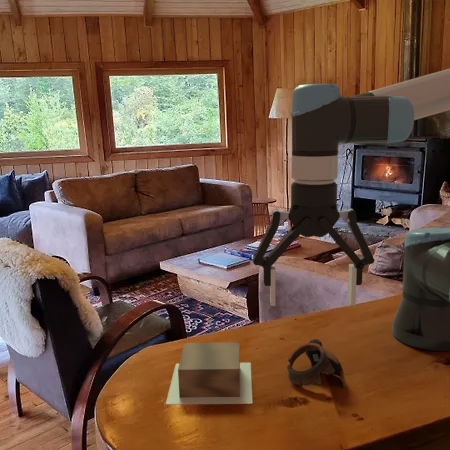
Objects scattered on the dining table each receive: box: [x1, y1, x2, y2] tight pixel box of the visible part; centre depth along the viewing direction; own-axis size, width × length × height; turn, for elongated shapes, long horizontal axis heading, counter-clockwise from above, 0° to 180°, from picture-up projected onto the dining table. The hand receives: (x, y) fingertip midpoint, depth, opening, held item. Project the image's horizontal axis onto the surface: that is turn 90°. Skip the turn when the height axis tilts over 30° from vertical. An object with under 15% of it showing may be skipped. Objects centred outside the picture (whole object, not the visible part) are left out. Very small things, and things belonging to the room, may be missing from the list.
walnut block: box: [178, 342, 241, 397], centre depth 91 cm, size 10×10×5 cm
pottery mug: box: [287, 338, 347, 389], centre depth 93 cm, size 12×10×8 cm
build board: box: [165, 362, 253, 405], centre depth 91 cm, size 14×14×2 cm
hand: (311, 303), depth 91 cm, fingers open, 13 cm apart
